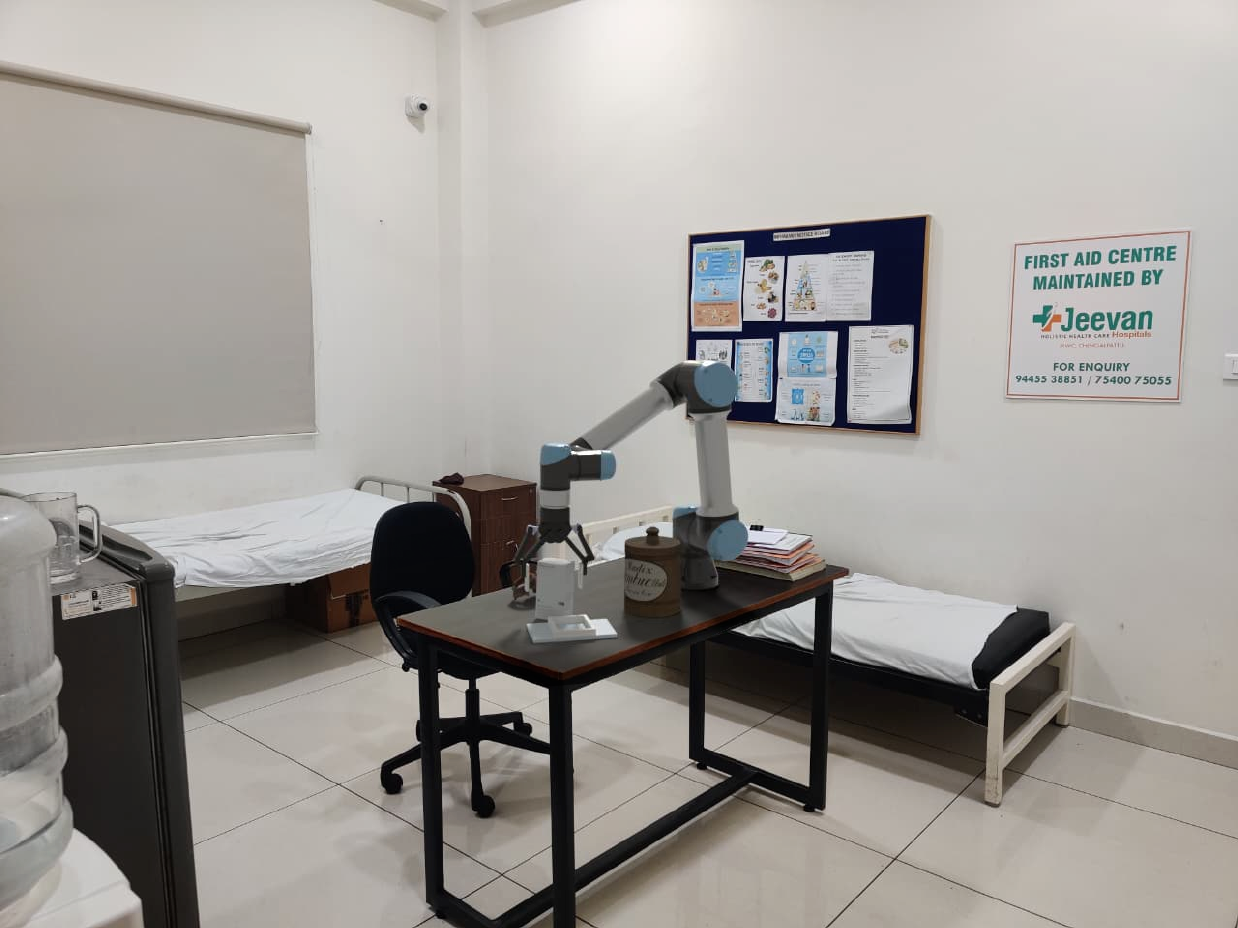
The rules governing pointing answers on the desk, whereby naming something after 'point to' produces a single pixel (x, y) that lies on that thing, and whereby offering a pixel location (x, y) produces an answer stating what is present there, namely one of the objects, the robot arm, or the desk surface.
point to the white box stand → (570, 629)
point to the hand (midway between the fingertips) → (553, 589)
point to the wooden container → (652, 575)
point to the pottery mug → (521, 590)
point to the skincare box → (554, 588)
